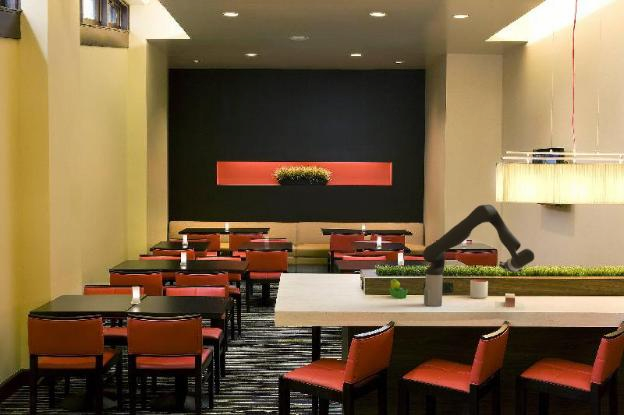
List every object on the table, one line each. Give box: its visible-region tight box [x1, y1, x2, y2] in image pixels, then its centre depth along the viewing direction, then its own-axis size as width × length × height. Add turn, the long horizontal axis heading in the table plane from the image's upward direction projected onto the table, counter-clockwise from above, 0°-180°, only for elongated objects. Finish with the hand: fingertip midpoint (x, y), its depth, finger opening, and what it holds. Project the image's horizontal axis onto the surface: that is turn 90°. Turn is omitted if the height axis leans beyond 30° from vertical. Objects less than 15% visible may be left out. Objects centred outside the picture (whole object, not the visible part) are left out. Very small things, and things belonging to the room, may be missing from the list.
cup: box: [469, 279, 489, 300], centre depth 482 cm, size 10×10×10 cm
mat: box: [494, 300, 526, 311], centre depth 454 cm, size 24×16×1 cm, turn 168°
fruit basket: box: [388, 278, 409, 300], centre depth 478 cm, size 11×9×11 cm
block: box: [504, 293, 516, 307], centre depth 456 cm, size 5×5×15 cm
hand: (506, 269), depth 443 cm, fingers closed
